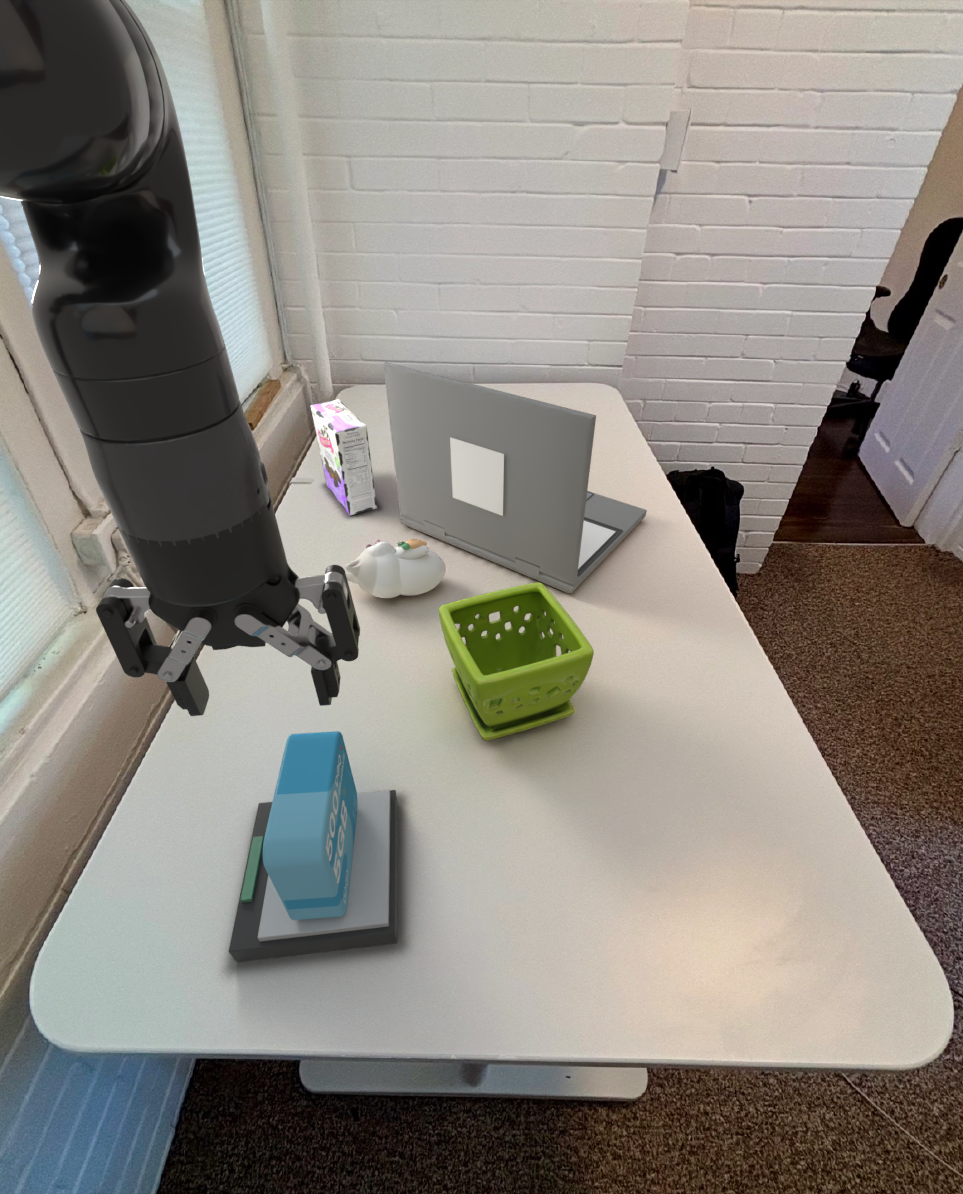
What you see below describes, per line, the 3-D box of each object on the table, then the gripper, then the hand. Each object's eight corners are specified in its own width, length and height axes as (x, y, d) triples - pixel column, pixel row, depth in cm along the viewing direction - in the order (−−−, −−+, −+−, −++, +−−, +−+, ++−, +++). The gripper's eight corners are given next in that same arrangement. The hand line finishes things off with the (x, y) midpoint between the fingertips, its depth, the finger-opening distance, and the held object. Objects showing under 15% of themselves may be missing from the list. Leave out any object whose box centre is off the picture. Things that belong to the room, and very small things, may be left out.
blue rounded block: (346, 923, 51) (321, 854, 43) (293, 927, 50) (258, 858, 43) (359, 798, 60) (340, 723, 52) (314, 801, 60) (288, 726, 52)
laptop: (644, 522, 105) (676, 359, 87) (571, 599, 89) (591, 418, 71) (486, 470, 121) (485, 323, 103) (399, 527, 105) (380, 364, 87)
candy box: (325, 485, 117) (308, 403, 107) (353, 477, 119) (340, 397, 109) (348, 517, 108) (333, 431, 97) (379, 508, 110) (367, 424, 99)
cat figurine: (447, 529, 87) (343, 532, 83) (454, 579, 84) (346, 584, 81) (438, 555, 96) (343, 559, 92) (444, 602, 93) (346, 608, 90)
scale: (235, 962, 51) (225, 948, 49) (264, 815, 62) (256, 798, 60) (397, 943, 52) (393, 928, 50) (397, 801, 63) (394, 784, 61)
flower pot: (586, 726, 71) (599, 651, 63) (477, 762, 67) (475, 686, 59) (537, 649, 81) (542, 576, 73) (440, 676, 77) (434, 602, 69)
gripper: (10, 545, 27) (140, 756, 37) (324, 526, 28) (366, 736, 39) (78, 469, 33) (174, 670, 43) (337, 456, 34) (370, 655, 44)
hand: (265, 701), depth 41 cm, fingers open, 8 cm apart
